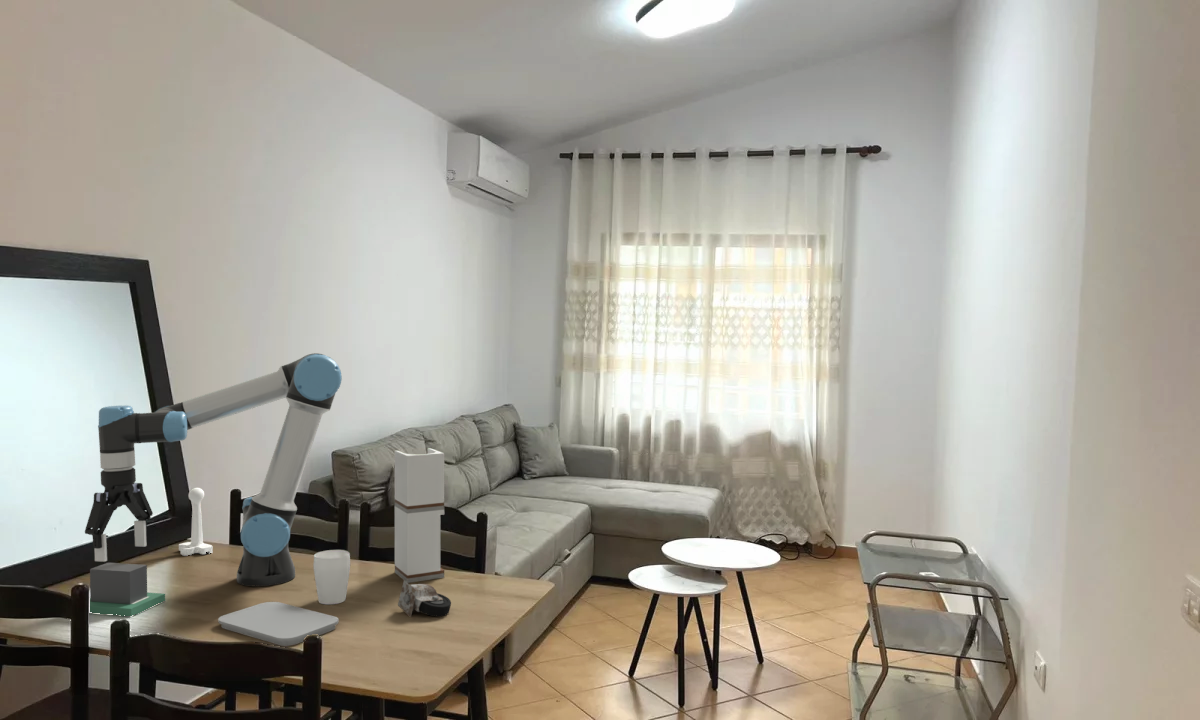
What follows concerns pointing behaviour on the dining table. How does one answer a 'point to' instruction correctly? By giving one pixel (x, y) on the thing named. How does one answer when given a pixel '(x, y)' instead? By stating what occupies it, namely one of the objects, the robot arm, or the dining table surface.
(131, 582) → the block
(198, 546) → the joystick
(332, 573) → the cup
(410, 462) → the white striped vase
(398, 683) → the dining table surface
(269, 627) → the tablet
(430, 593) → the caster wheel
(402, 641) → the dining table surface
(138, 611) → the board
